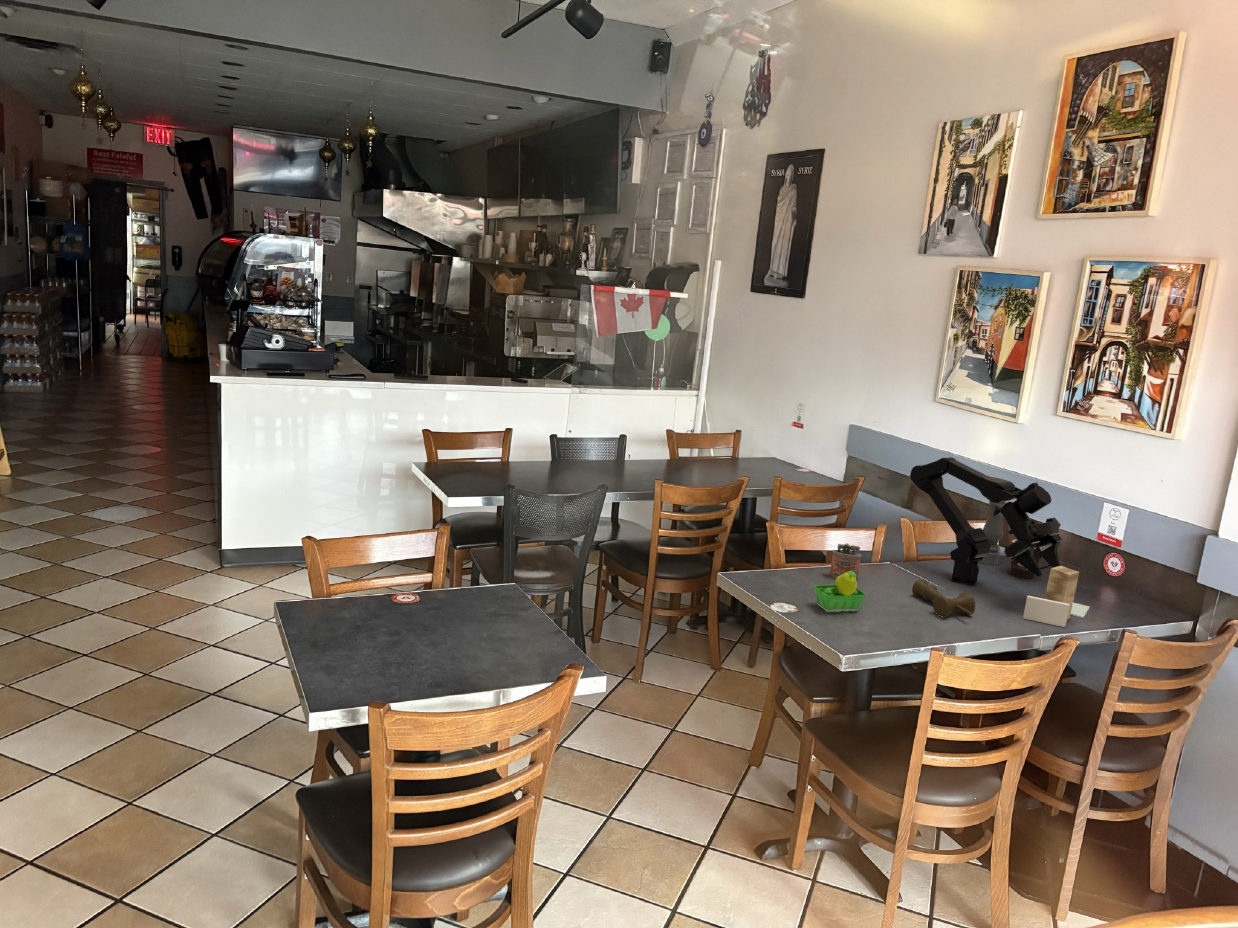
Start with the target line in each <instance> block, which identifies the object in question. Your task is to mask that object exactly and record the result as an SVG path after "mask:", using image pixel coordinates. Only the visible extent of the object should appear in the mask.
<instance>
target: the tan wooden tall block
mask: <svg viewBox="0 0 1238 928" xmlns="http://www.w3.org/2000/svg"><path fill="white" fill-rule="evenodd" d="M1079 576H1080V571H1077V570H1074V569H1071V568H1069V567H1065V566H1063V565H1060V566H1059V567H1054V568H1052V567H1051V568H1050V571H1049V575H1048V580H1047V586H1046V590H1045V596H1044V599H1047V600H1052V601H1057V602H1062V603H1067V604H1070V607H1069V611H1068V616H1067V620H1069V619H1070V618H1071V615H1070V614H1071V610H1072V605H1073V603H1074V599H1075V596H1076V595H1075V594H1076V591H1077V585H1078V581H1079Z"/></svg>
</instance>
